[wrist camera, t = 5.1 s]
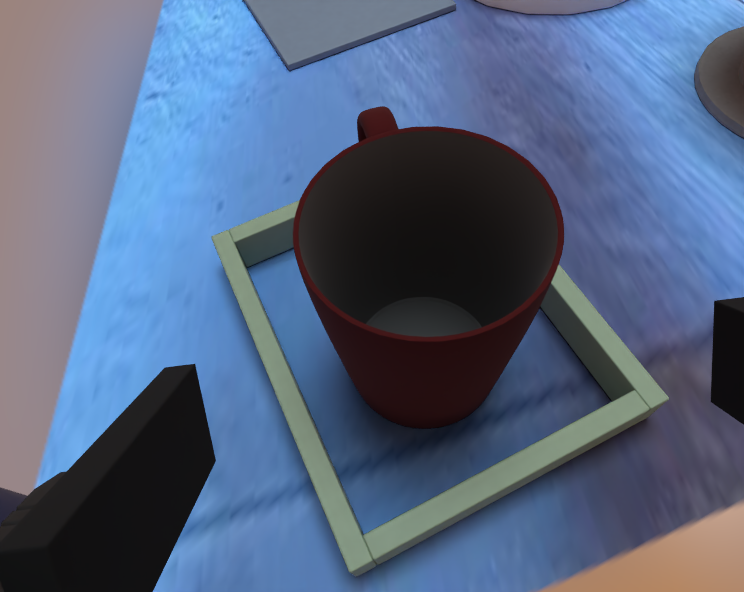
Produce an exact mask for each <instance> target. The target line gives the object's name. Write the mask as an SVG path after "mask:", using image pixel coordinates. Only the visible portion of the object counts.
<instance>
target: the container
mask: <svg viewBox="0 0 744 592" xmlns="http://www.w3.org/2000/svg"><path fill="white" fill-rule="evenodd" d="M476 1H478V2H480V3H483V4H485V5H487V6H491V7H496V8H501V9H506V10H511V11H516V12H521V13H526V14H575V13H581V12H586V11H592V10H598V9H603V8H609V7H612V6H614V5H617V4H619V3H621V2H624V1H626V0H476Z"/></svg>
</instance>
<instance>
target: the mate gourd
mask: <svg viewBox="0 0 744 592" xmlns="http://www.w3.org/2000/svg"><path fill="white" fill-rule="evenodd" d="M694 79H695V88H696V90H697V93H698V95H699V98H700V100H701V101H702V103H703V104H704V106H705V107H706V108H707V110H708V111H709V112H710V113H711V114H712V115H713V116H714V117H715V118H716V119H717V120H718V121H719V122H720V123H721V124H722V125H724V126H725V127H727V128H728V129H730V130H731V131H733V132H734V133H736V134H737V135H739V136H741V137H743V138H744V27H741V28H738V29H735V30H732V31H729V32H727V33H725V34H723V35H721V36H720V37H718V38H716V39H715V40H714V41H713V42H712V43H711V44H709V45H708V46H707V48H706V49H705V51H704V52H703V54H702V56H701V57H700V59H699V61H698V63H697V66H696V70H695V74H694Z"/></svg>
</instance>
